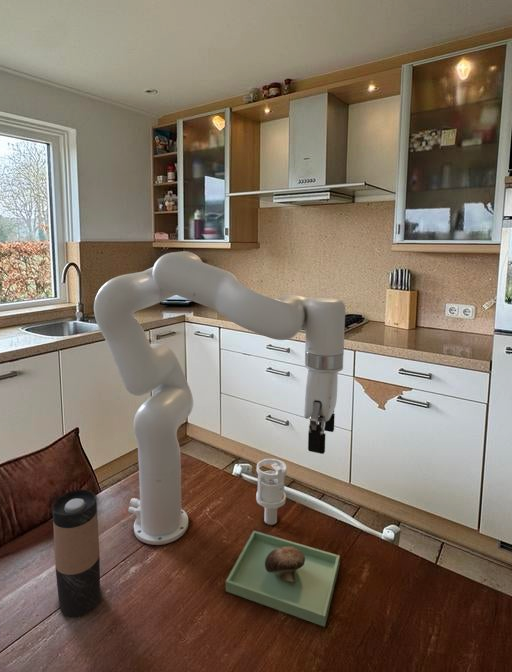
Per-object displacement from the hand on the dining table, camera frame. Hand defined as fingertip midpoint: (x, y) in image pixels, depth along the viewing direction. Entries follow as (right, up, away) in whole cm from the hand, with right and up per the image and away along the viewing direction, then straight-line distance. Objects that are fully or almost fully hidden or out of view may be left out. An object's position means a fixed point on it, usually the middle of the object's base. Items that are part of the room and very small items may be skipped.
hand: (321, 440), depth 87 cm
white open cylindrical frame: (-9, -25, +15) cm, 30 cm away
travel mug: (-47, -28, -7) cm, 55 cm away
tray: (-8, -27, -2) cm, 28 cm away
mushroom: (-8, -26, -2) cm, 28 cm away
